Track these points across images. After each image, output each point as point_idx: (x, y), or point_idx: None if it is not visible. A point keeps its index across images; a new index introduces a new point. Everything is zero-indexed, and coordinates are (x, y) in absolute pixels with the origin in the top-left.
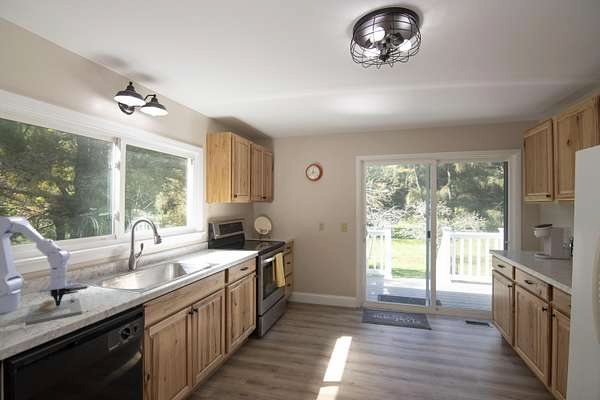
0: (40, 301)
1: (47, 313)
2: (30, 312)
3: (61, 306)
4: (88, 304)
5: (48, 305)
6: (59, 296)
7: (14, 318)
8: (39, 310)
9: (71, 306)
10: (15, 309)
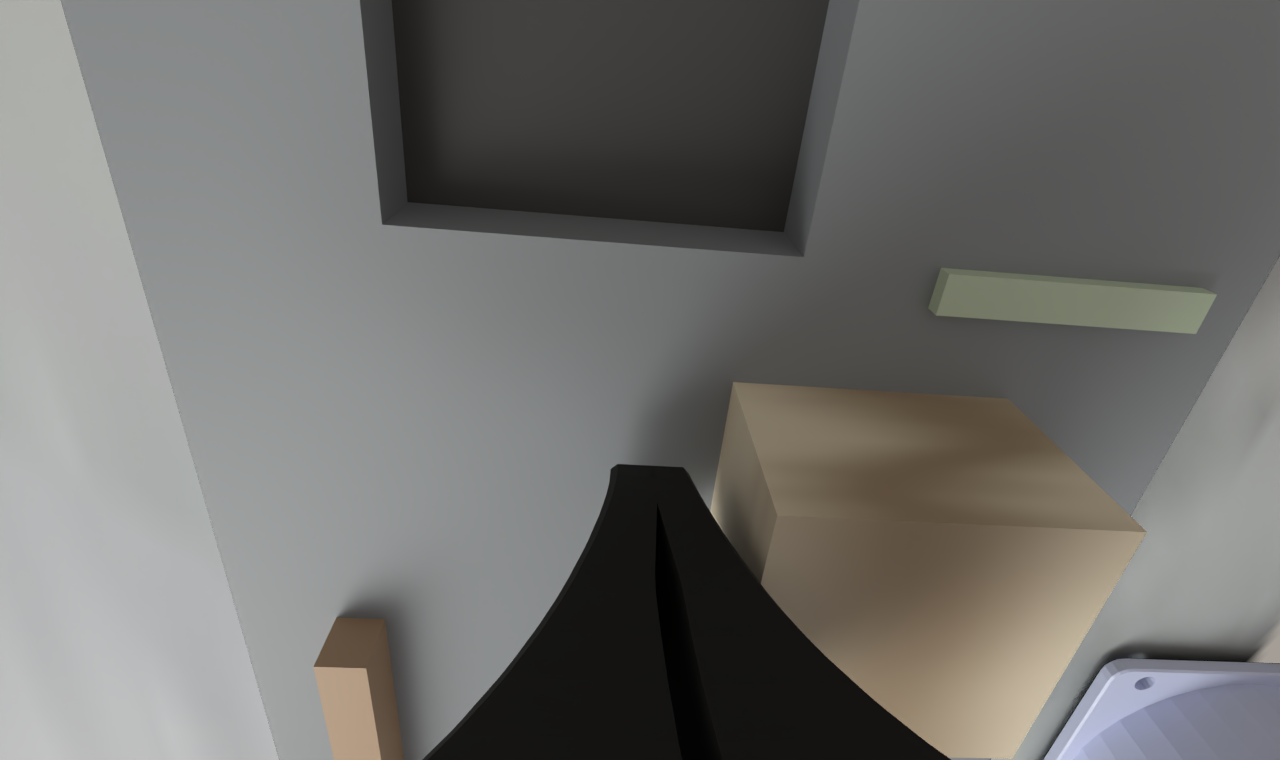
0: (1006, 737)
1: (925, 119)
2: (1109, 491)
3: (574, 486)
4: (68, 430)
5: (885, 462)
6: (635, 658)
7: (1259, 482)
8: (1022, 417)
9: (363, 328)
10: (1189, 751)
